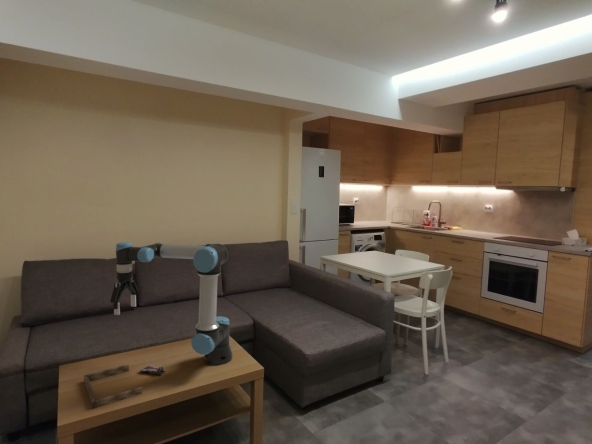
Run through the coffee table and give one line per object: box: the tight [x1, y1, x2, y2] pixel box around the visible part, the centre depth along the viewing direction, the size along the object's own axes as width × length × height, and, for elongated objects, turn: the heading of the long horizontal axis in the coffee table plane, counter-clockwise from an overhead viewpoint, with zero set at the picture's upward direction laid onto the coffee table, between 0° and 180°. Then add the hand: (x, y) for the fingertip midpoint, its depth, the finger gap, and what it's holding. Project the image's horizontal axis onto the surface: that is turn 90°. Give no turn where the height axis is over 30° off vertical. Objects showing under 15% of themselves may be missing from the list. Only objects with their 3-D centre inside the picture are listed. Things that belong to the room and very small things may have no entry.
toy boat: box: [139, 364, 167, 376], centre depth 178 cm, size 13×6×4 cm, turn 72°
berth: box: [83, 363, 143, 410], centre depth 164 cm, size 20×27×3 cm
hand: (125, 310), depth 189 cm, fingers open, 13 cm apart
